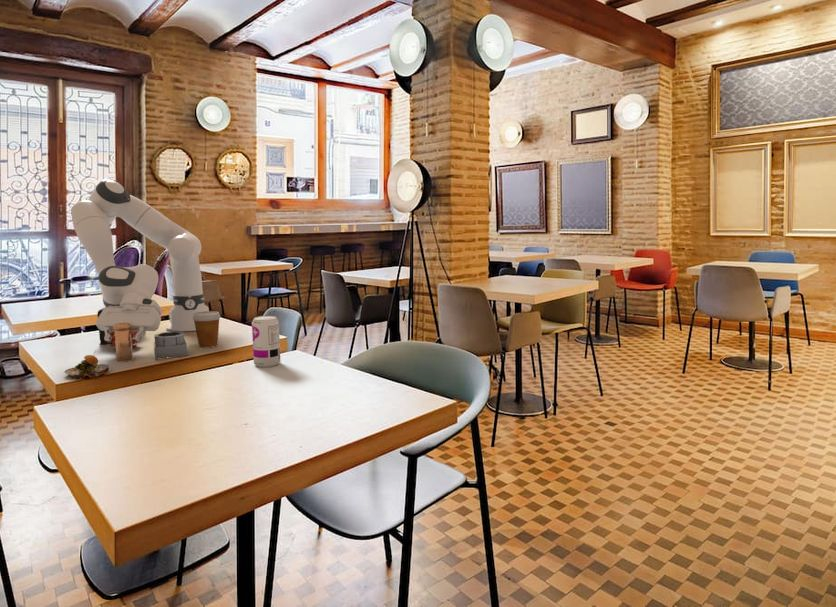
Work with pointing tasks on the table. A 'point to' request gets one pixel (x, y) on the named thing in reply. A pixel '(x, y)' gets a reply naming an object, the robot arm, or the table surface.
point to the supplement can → (266, 341)
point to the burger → (88, 368)
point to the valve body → (170, 345)
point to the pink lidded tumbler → (123, 341)
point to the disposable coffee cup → (207, 328)
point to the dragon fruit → (112, 342)
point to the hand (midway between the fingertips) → (121, 340)
